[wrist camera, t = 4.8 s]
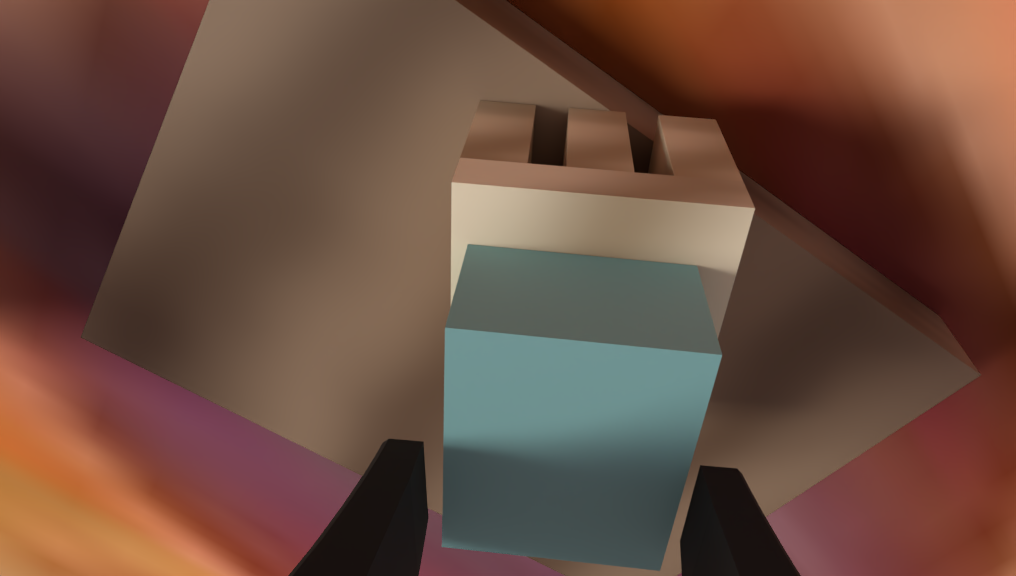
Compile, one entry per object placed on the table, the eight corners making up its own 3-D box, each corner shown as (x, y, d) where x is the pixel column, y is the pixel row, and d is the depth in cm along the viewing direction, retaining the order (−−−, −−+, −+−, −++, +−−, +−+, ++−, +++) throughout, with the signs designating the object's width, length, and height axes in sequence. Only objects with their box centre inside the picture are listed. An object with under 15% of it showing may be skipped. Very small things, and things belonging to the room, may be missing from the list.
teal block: (697, 266, 12) (722, 355, 10) (648, 467, 15) (659, 571, 13) (467, 244, 12) (444, 327, 10) (461, 448, 15) (442, 547, 13)
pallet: (715, 119, 15) (755, 208, 11) (651, 397, 19) (666, 518, 16) (479, 100, 15) (451, 182, 12) (471, 380, 19) (449, 496, 16)
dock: (940, 316, 20) (981, 375, 18) (625, 546, 27) (629, 606, 25) (307, -145, 15) (262, -138, 13) (127, 288, 22) (80, 337, 20)
